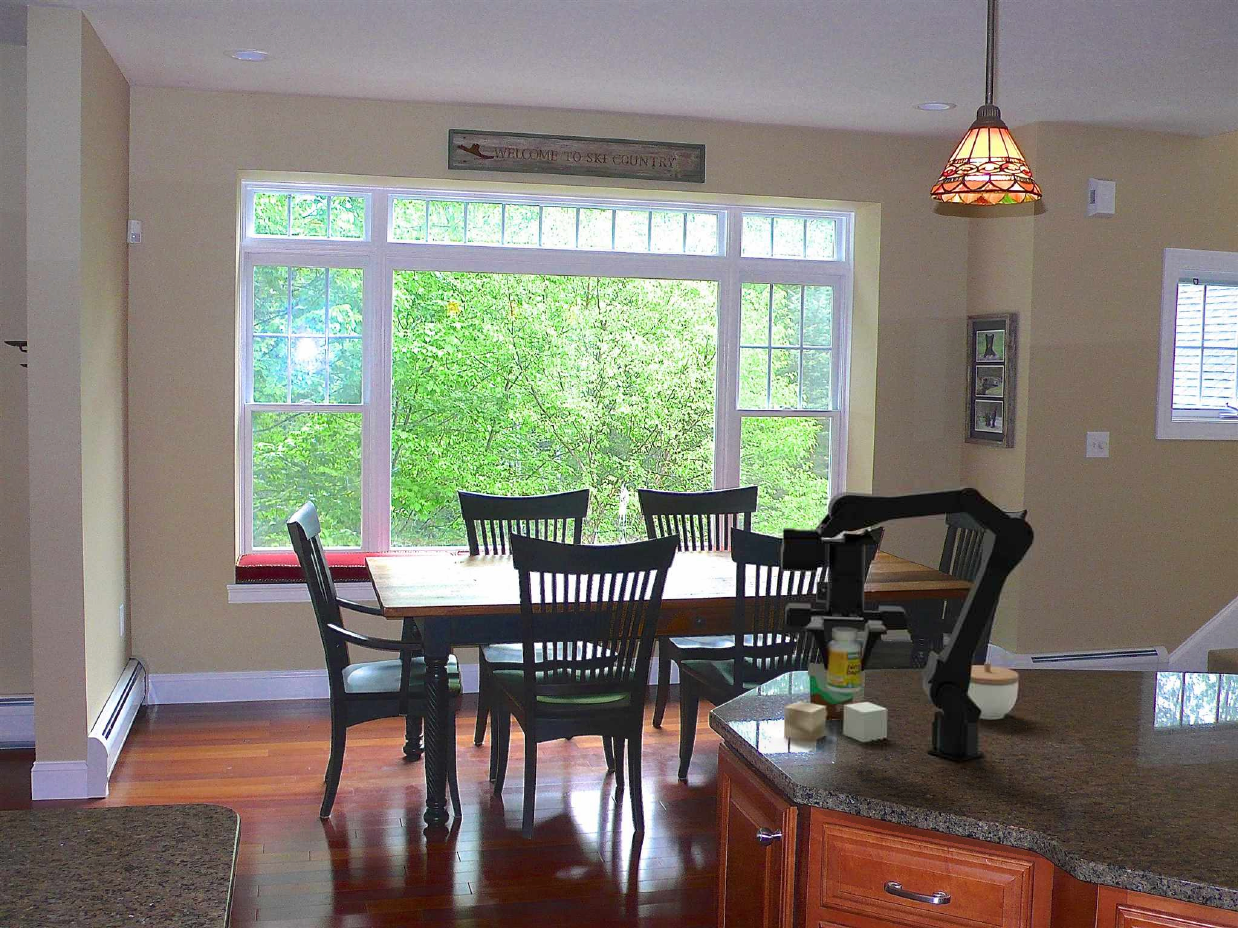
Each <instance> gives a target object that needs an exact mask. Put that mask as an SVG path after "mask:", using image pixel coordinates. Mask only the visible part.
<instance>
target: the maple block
mask: <svg viewBox="0 0 1238 928" xmlns="http://www.w3.org/2000/svg"><path fill="white" fill-rule="evenodd" d="M826 721H827V720H826V706H822V705H817V704H812V703H810V702H806V701H801V700H799V701H796V702H794V703H791V704H789V705H787V706H784V722H783V723H784V725H783V727H784V729H783V730H784V732H783V734H784V735H783V736H784V737H786V738H789V739H790V738H791V739H795V740H798V741H803V742H804V741H805V742H808V743H812V742H815V741H816V740H819V739H821V738H822V737H825V736H826V731H827V730H826V729H827V728H826V727H827V723H826Z"/></svg>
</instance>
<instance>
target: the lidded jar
mask: <svg viewBox="0 0 1238 928" xmlns="http://www.w3.org/2000/svg"><path fill="white" fill-rule="evenodd" d="M991 664H992V663H991V662H987V661H986V662H984V665H979V664H977V665H975V664H972V671H971V681H970V685H969V689H968V695H969V696H970V698H971V699H972V700H973V701H974V702H975V704H976V705H977V706H978V707H979V708H980V710H981V711H982V712H981V715H980V717H979V719H981V720H1000V719H1003V718H1004V717H1005V715H1006V714H1008V713H1009V712H1010V711H1011V710H1012V708H1013V707H1014V705H1015V704H1016V700H1017V696H1018V692H1019V691H1018V690H1019V681H1020V675H1019V673H1018V672H1017V671H1015V670H1012V669H1010V668H1006V667H1001V666H1000V667H999V666H993V665H991Z"/></svg>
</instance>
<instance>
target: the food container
mask: <svg viewBox="0 0 1238 928" xmlns="http://www.w3.org/2000/svg"><path fill="white" fill-rule="evenodd" d="M807 675H808V676H809V703H812V704H817V705H822V706H826V721H836V720H835V719H842V720H844V705H849V704H853V699H854V692H849V693H843V692H836V691H832V690H830V689H829V688H828V687H827V670H825V668H824V665H823V661H821V662H820V663H812V662H809V664H808V668H807ZM830 719H831V720H830ZM832 719H834V720H832Z"/></svg>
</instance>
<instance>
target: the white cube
mask: <svg viewBox="0 0 1238 928" xmlns="http://www.w3.org/2000/svg"><path fill="white" fill-rule="evenodd" d="M842 727H843V729H842V730H843V731H842V732H843V733H842V734H843V735H844V736H846V737H849V738H851V737H852V739H854V740H857V741H858V740H859V742H862V743H867V742H872V741H871V740H874V741H878V740H877V739H880V740H884V739H883V738H886V739H887V736H888V735H887V733H888V732H887V731H888V708H885V707H883V706H879V705H878V704H874V703H872V702H869V701H864V702H858V703H852V704H849V705H844V719H843V726H842Z"/></svg>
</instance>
